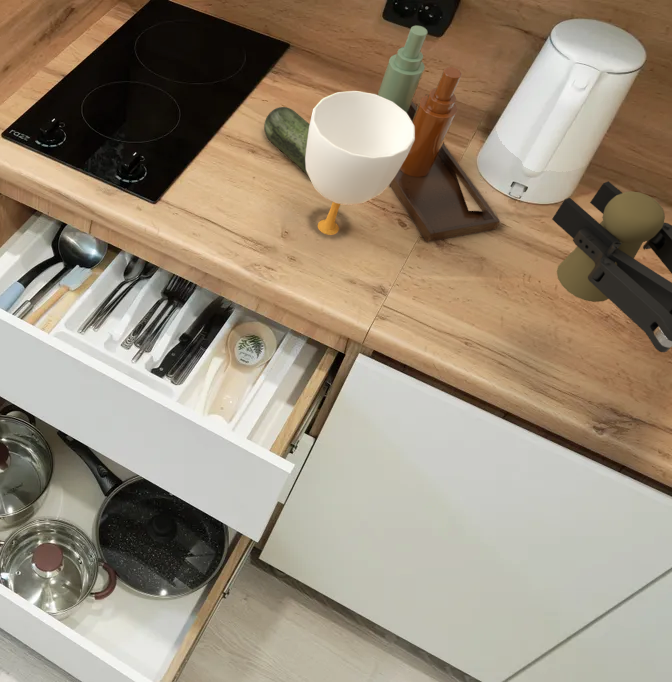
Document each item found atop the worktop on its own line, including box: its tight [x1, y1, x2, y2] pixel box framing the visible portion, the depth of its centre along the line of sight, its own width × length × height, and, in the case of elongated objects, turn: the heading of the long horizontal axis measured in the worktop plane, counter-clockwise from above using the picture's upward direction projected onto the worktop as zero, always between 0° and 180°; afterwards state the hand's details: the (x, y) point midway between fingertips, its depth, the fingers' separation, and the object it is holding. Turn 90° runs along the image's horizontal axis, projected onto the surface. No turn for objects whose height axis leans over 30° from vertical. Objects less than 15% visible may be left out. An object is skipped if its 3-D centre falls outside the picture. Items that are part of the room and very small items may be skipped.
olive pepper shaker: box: [556, 190, 666, 303], centre depth 80 cm, size 6×6×11 cm
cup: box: [305, 90, 415, 236], centre depth 96 cm, size 12×12×17 cm
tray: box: [389, 100, 501, 243], centre depth 111 cm, size 27×10×2 cm, turn 16°
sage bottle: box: [376, 25, 428, 113], centre depth 110 cm, size 5×5×15 cm
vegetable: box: [263, 106, 310, 176], centre depth 109 cm, size 14×5×5 cm, turn 36°
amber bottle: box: [400, 66, 462, 177], centre depth 105 cm, size 5×5×15 cm
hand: (580, 200), depth 82 cm, fingers closed on olive pepper shaker, 5 cm apart
